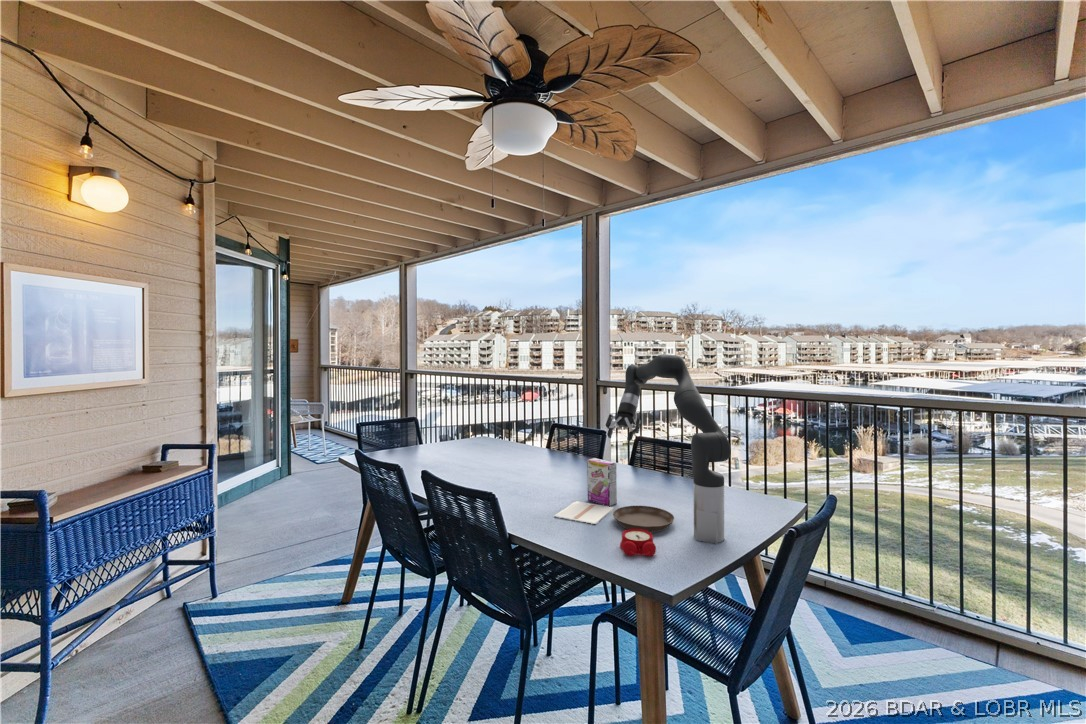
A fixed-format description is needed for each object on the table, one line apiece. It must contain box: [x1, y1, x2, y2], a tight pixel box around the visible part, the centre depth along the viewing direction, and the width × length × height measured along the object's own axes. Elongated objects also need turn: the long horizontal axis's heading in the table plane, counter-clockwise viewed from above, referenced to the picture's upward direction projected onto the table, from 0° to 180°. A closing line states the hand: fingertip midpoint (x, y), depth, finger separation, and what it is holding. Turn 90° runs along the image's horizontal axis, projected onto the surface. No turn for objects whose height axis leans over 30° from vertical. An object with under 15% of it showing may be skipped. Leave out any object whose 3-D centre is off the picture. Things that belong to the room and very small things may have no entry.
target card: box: [554, 500, 615, 525], centre depth 172 cm, size 18×16×1 cm
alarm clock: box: [619, 529, 657, 557], centre depth 141 cm, size 10×6×15 cm
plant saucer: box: [612, 505, 675, 533], centre depth 161 cm, size 21×21×3 cm
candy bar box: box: [586, 457, 618, 507], centre depth 184 cm, size 11×5×16 cm, turn 44°
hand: (618, 439), depth 197 cm, fingers open, 8 cm apart
